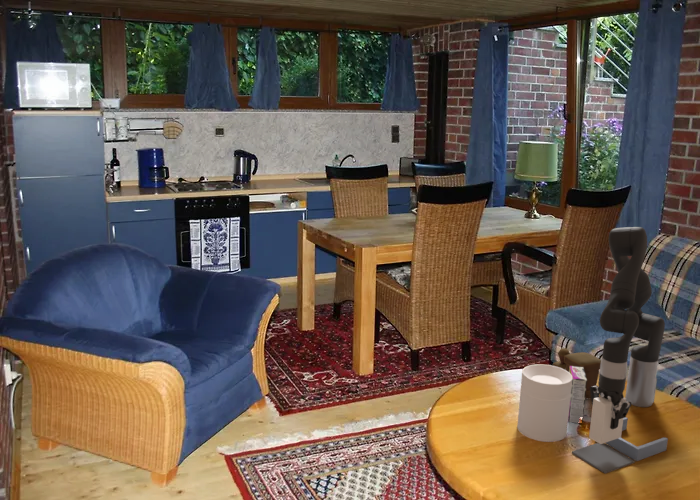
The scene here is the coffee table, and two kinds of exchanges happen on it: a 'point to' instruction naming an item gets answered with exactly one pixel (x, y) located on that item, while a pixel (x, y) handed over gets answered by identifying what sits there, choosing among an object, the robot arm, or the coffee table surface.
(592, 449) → the rubber pad
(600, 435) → the packed carton
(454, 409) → the coffee table surface
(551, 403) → the canister
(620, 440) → the frame
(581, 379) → the candy bar box
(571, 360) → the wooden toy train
